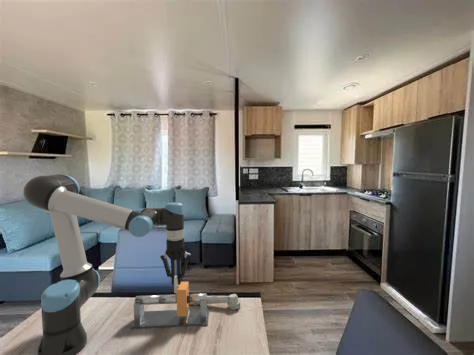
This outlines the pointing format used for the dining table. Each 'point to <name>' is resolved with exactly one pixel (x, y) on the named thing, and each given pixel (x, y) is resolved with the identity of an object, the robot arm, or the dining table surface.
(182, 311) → the collar
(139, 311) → the pipe rig
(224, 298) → the white blue-tipped device
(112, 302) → the dining table surface
